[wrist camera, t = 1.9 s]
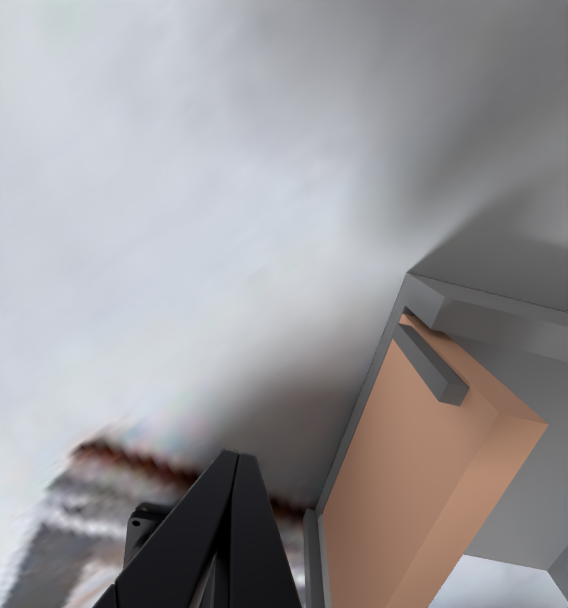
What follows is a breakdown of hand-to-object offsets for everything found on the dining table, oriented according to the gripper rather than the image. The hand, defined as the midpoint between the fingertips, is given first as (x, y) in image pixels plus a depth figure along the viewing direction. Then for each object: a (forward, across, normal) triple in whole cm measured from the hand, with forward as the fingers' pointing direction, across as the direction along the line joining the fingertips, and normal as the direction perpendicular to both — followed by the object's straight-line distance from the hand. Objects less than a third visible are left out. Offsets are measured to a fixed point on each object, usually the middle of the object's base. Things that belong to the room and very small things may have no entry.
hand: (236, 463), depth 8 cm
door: (+6, -6, +3) cm, 9 cm away
